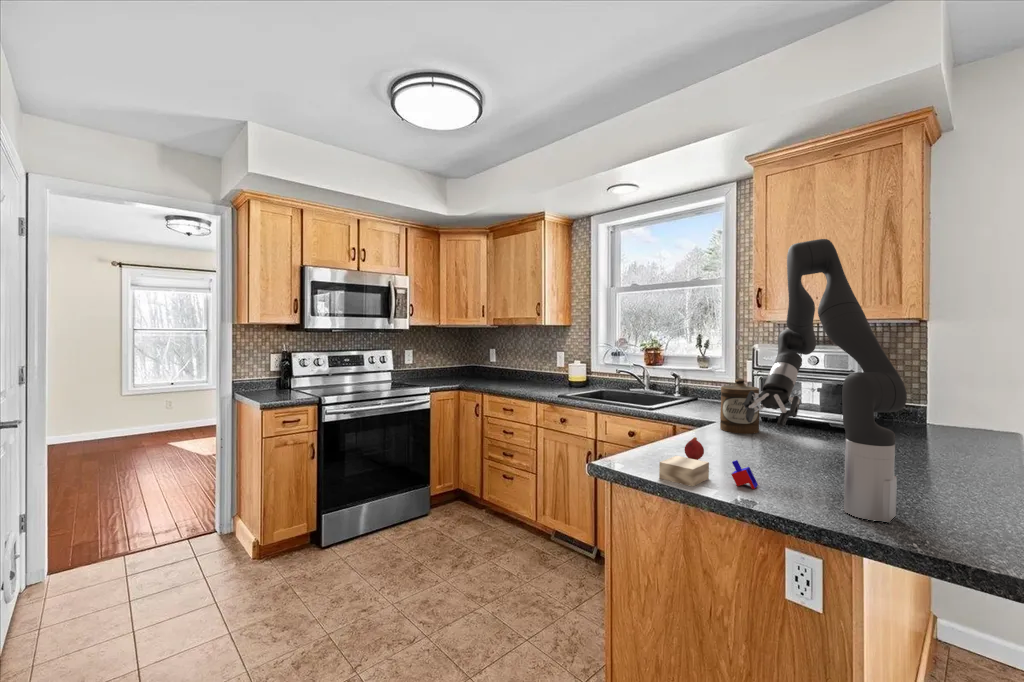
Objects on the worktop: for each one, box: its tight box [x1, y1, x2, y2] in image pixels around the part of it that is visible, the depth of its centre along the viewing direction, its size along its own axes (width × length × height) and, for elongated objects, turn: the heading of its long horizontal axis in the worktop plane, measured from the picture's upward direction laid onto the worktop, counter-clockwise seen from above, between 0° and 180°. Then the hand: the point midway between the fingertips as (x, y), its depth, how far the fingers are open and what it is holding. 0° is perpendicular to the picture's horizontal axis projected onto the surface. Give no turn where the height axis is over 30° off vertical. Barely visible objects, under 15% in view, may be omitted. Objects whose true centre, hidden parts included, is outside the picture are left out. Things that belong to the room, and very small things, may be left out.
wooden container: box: [719, 377, 760, 435], centre depth 204 cm, size 15×15×22 cm
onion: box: [684, 436, 705, 460], centre depth 157 cm, size 6×6×8 cm
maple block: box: [658, 455, 710, 487], centre depth 140 cm, size 10×10×5 cm
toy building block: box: [730, 459, 759, 490], centre depth 134 cm, size 4×4×8 cm
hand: (763, 423), depth 141 cm, fingers open, 8 cm apart
